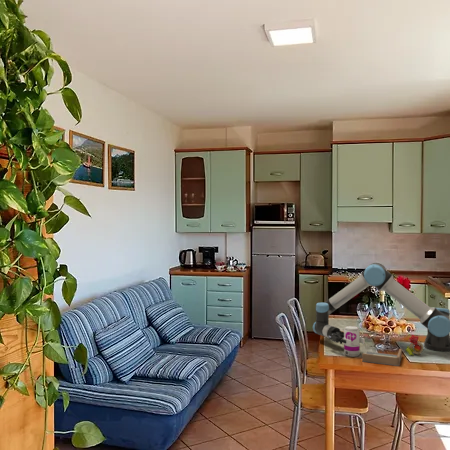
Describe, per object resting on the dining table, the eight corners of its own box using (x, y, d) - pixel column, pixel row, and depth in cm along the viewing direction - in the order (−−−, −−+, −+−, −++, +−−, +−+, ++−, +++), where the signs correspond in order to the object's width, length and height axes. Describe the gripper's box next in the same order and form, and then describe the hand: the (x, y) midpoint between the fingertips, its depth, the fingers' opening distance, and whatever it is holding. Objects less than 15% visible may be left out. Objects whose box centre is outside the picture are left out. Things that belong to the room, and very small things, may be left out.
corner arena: (401, 356, 242) (401, 349, 242) (399, 366, 226) (399, 358, 226) (367, 352, 250) (367, 345, 250) (362, 361, 234) (362, 353, 234)
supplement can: (357, 357, 240) (357, 329, 240) (342, 355, 245) (342, 328, 244) (361, 354, 247) (361, 326, 247) (346, 351, 251) (346, 325, 251)
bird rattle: (416, 356, 248) (401, 350, 248) (424, 338, 248) (409, 332, 248) (420, 360, 242) (405, 353, 242) (429, 341, 242) (413, 335, 242)
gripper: (346, 337, 266) (373, 347, 245) (316, 341, 258) (341, 351, 237) (346, 324, 266) (373, 333, 245) (316, 328, 258) (341, 337, 237)
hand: (357, 342), depth 241 cm, fingers closed on supplement can, 8 cm apart
